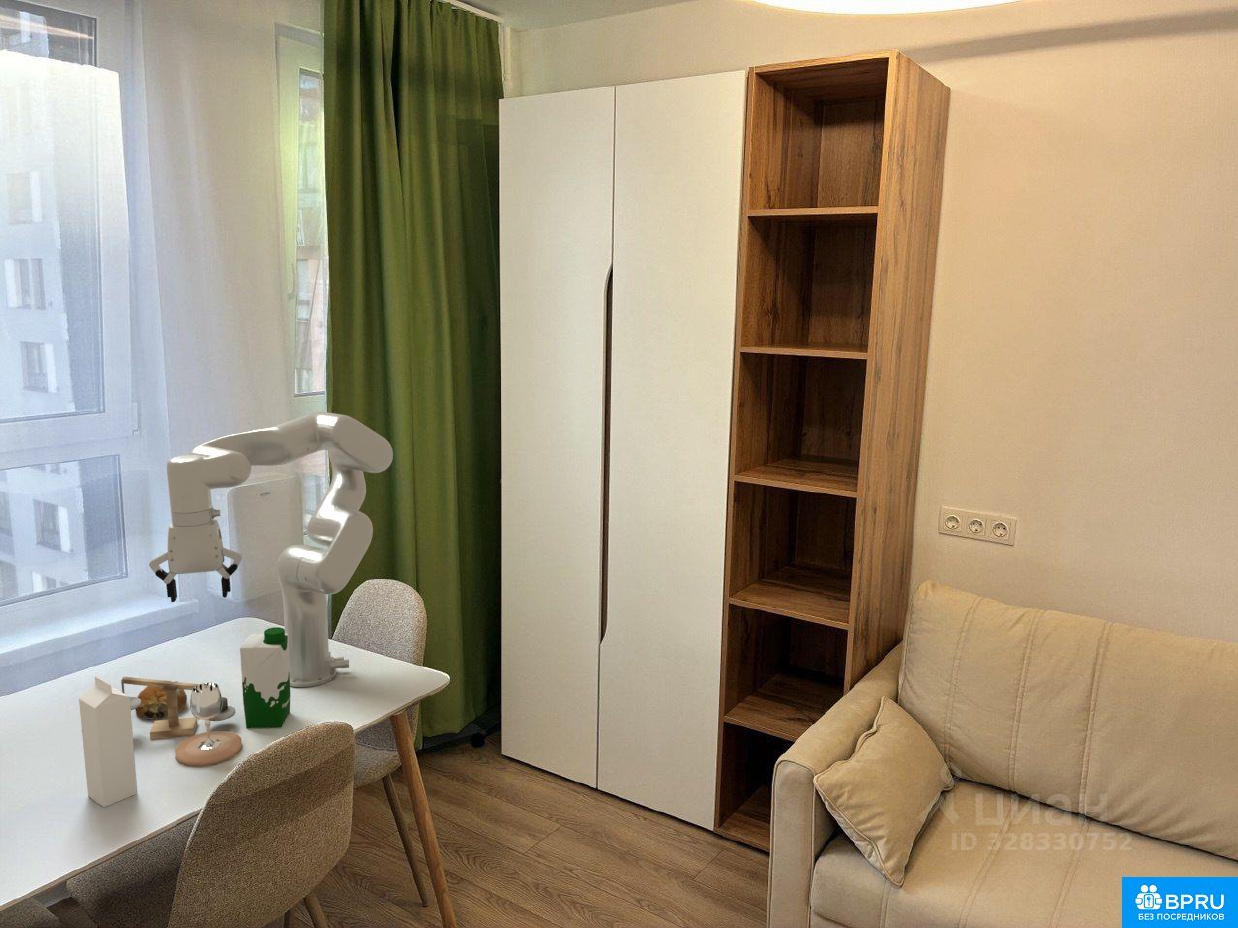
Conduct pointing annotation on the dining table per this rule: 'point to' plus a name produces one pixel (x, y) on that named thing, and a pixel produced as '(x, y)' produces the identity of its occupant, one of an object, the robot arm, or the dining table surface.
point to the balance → (173, 709)
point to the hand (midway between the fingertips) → (199, 597)
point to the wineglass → (206, 709)
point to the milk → (108, 744)
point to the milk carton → (266, 678)
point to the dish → (199, 758)
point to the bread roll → (157, 702)
